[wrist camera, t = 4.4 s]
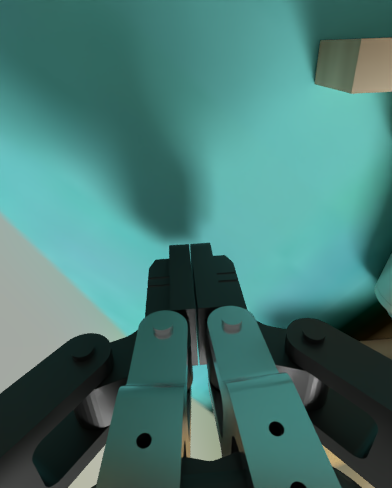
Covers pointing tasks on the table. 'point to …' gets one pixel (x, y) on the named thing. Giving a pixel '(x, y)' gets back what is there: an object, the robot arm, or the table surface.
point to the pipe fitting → (385, 287)
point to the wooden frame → (357, 88)
